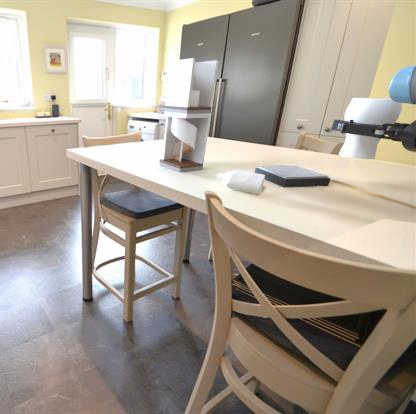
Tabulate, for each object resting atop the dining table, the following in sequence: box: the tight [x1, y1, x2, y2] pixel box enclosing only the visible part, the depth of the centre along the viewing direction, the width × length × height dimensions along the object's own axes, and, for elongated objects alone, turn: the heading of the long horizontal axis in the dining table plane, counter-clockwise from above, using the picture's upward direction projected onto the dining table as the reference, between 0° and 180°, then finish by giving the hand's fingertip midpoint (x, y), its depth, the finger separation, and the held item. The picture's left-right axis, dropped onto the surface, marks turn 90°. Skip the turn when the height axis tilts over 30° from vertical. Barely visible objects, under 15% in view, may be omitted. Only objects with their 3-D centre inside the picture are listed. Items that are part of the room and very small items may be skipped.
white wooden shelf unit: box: [158, 57, 220, 173], centre depth 98 cm, size 11×11×35 cm
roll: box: [216, 169, 266, 196], centre depth 80 cm, size 6×12×6 cm, turn 55°
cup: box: [338, 97, 403, 160], centre depth 75 cm, size 11×11×15 cm
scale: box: [254, 165, 331, 188], centre depth 91 cm, size 16×14×3 cm
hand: (354, 125), depth 79 cm, fingers closed on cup, 11 cm apart
